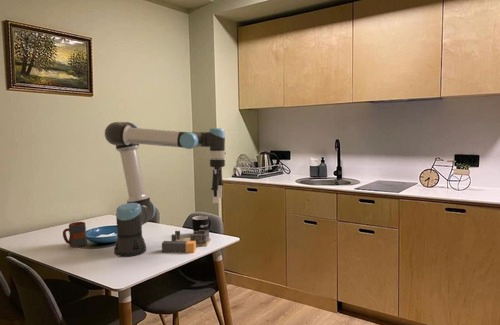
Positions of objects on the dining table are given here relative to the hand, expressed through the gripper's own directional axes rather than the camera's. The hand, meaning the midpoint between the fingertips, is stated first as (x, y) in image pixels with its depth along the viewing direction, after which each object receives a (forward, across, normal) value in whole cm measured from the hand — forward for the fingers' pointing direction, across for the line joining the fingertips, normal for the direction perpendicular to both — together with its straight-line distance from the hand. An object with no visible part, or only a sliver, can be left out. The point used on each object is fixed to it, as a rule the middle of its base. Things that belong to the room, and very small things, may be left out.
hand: (217, 200), depth 192 cm
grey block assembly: (+24, +4, +15) cm, 29 cm away
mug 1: (+25, -2, +75) cm, 79 cm away
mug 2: (+24, +20, +12) cm, 34 cm away
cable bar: (+24, -9, +18) cm, 31 cm away
